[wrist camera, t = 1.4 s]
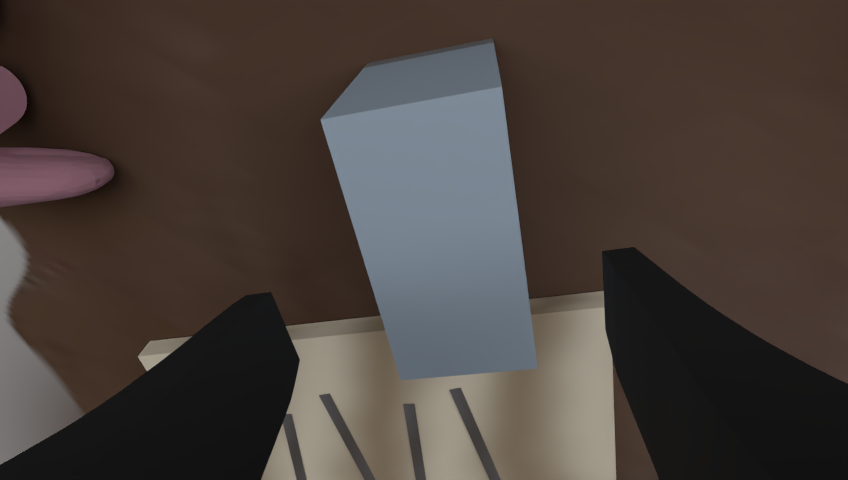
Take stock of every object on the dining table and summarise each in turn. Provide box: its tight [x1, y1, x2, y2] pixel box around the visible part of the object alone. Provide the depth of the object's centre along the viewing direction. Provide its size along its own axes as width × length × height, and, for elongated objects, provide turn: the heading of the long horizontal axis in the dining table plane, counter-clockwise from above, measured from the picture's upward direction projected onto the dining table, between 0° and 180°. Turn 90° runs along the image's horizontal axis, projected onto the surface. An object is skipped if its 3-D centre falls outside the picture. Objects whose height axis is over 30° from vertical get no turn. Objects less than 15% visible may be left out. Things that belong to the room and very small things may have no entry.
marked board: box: [138, 291, 616, 480], centre depth 25 cm, size 20×14×1 cm
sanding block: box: [321, 38, 538, 380], centre depth 16 cm, size 4×8×6 cm, turn 12°
